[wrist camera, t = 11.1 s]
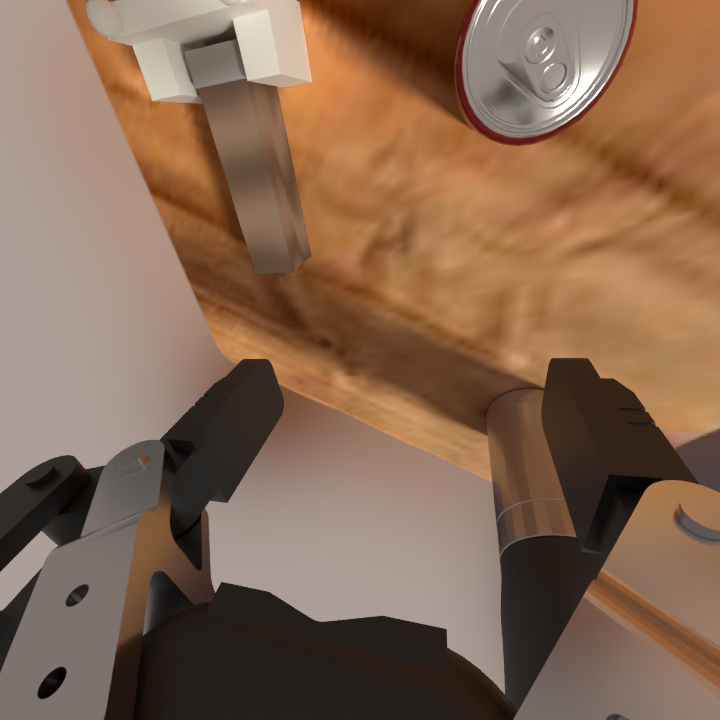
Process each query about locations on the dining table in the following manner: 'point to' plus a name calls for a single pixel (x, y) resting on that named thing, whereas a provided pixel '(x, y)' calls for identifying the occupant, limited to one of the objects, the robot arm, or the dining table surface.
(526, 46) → the soda can
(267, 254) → the rail
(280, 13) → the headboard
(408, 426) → the dining table surface
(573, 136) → the dining table surface
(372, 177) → the dining table surface
